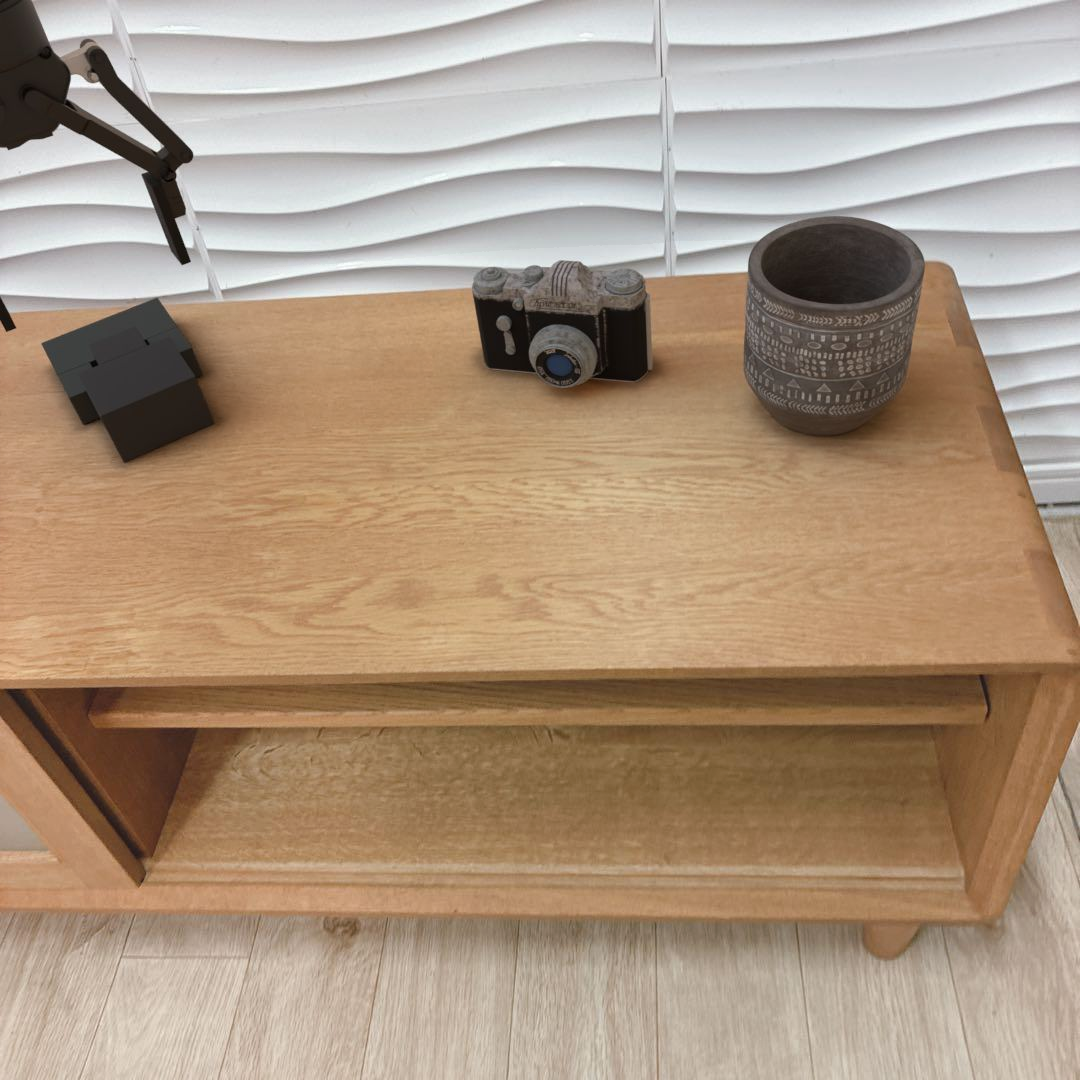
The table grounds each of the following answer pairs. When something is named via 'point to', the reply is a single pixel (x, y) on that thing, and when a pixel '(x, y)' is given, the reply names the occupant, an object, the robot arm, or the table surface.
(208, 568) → the table surface
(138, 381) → the pad
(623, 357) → the camera
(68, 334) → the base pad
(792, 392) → the planter
